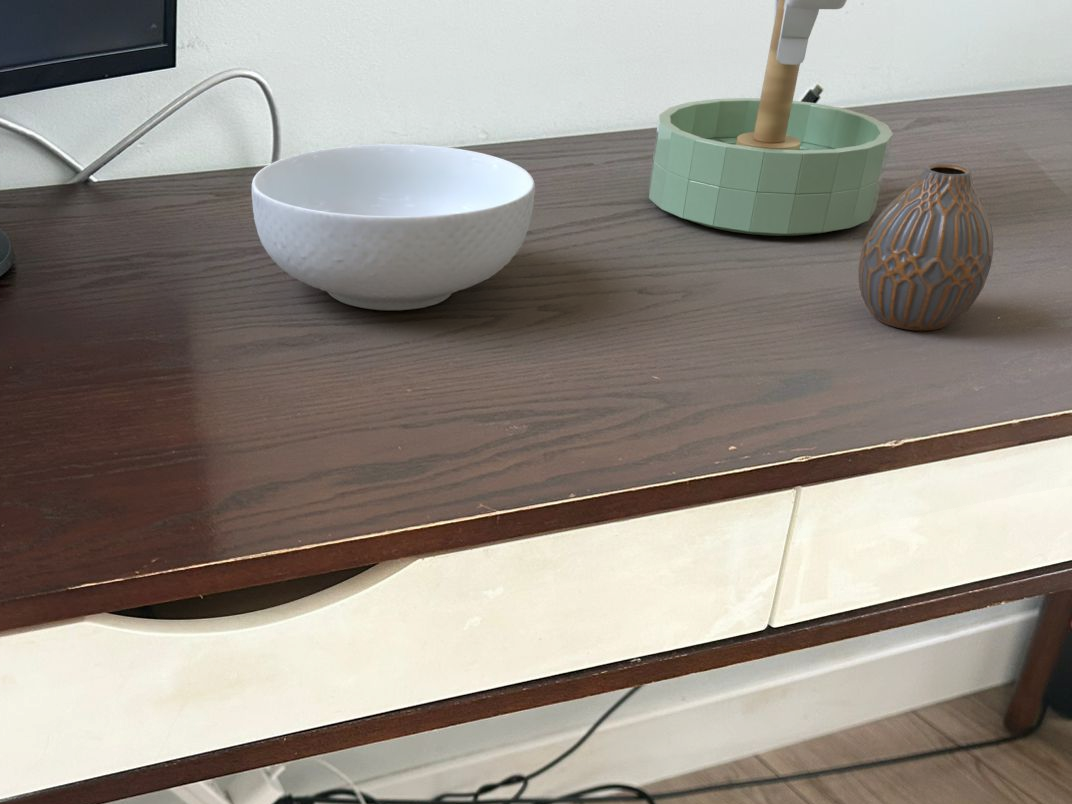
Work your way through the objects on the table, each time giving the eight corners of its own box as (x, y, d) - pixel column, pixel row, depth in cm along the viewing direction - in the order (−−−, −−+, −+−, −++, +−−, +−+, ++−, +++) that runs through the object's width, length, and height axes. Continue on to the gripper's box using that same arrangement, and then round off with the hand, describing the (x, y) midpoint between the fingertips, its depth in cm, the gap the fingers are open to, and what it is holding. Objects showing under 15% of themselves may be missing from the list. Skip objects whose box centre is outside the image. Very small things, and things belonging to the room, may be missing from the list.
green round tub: (855, 184, 104) (873, 103, 101) (887, 249, 92) (910, 158, 88) (645, 173, 107) (657, 94, 104) (649, 234, 94) (662, 146, 91)
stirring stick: (793, 154, 101) (840, -81, 92) (799, 170, 97) (849, -73, 89) (731, 151, 101) (773, -82, 93) (735, 166, 98) (779, -74, 89)
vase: (854, 335, 79) (890, 182, 74) (841, 294, 84) (874, 149, 80) (983, 345, 77) (1028, 190, 73) (961, 303, 83) (1002, 156, 78)
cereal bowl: (508, 246, 92) (518, 139, 89) (541, 340, 78) (555, 218, 75) (258, 245, 93) (256, 139, 89) (246, 338, 79) (244, 217, 75)
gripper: (909, -157, 79) (854, 92, 86) (858, -179, 96) (816, 32, 103) (794, -158, 80) (750, 88, 87) (764, -180, 97) (729, 28, 104)
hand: (785, 57), depth 95 cm, fingers closed on stirring stick, 2 cm apart
